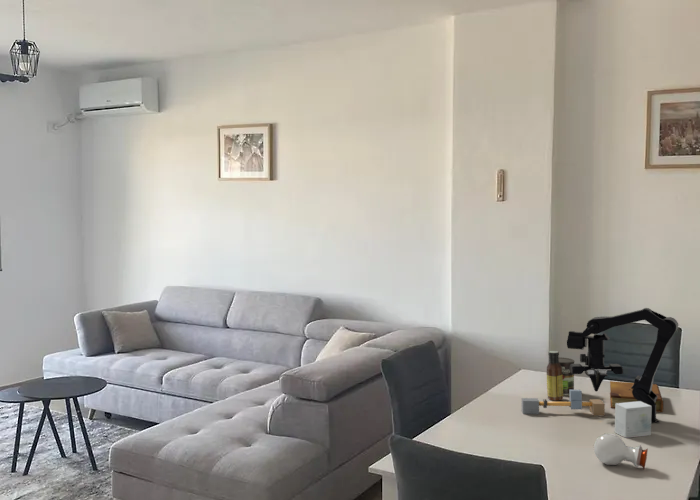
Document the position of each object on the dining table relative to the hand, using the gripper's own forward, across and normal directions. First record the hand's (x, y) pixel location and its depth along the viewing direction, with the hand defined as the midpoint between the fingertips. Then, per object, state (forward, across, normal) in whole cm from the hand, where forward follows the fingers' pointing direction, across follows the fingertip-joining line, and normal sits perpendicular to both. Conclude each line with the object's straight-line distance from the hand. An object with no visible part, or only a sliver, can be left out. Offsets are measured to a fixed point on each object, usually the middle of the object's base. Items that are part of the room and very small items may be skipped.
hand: (596, 391), depth 259 cm
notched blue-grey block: (+7, +8, 0) cm, 10 cm away
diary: (+9, -19, -16) cm, 27 cm away
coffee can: (+9, +7, -30) cm, 32 cm away
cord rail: (+8, +12, 0) cm, 14 cm away
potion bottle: (+9, +7, +54) cm, 55 cm away
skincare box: (+9, -6, +24) cm, 26 cm away
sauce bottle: (+9, +12, -19) cm, 24 cm away
